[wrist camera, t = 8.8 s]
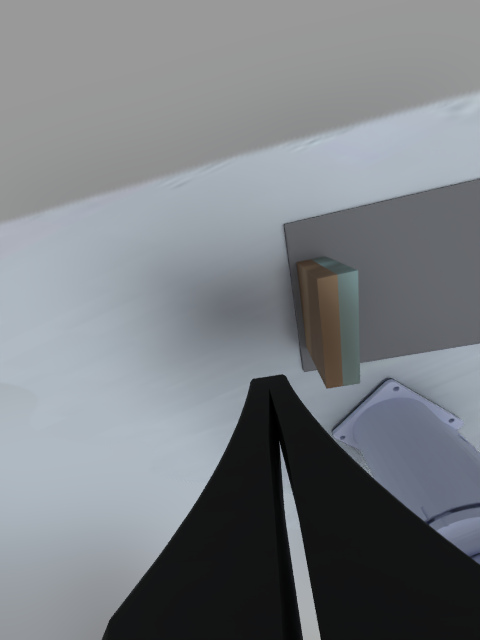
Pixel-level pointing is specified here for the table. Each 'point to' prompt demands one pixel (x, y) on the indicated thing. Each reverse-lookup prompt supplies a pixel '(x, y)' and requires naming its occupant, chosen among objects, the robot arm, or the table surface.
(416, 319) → the mat
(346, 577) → the robot arm
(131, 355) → the table surface
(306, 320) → the tile
